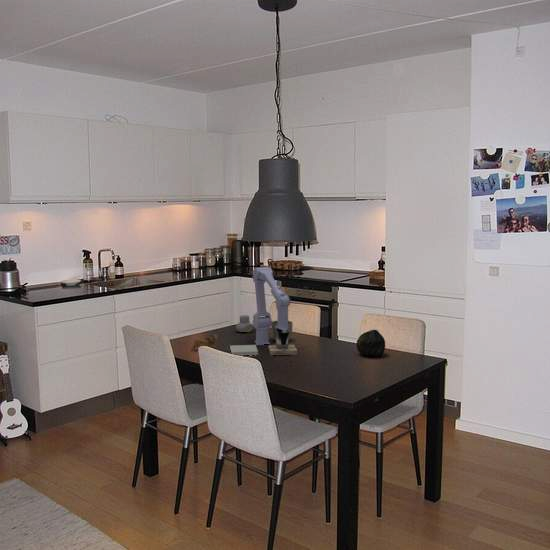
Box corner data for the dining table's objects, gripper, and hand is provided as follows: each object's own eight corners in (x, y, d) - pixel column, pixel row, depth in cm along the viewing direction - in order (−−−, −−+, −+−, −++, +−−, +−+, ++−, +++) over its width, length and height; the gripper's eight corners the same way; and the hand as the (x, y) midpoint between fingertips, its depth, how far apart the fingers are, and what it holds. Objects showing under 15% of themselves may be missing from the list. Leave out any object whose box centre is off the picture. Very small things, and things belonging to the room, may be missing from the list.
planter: (266, 340, 354) (266, 322, 353) (282, 337, 362) (282, 319, 361) (281, 344, 345) (281, 325, 343) (296, 340, 353) (296, 322, 352)
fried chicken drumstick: (217, 349, 335) (217, 333, 333) (218, 351, 329) (217, 335, 328) (190, 350, 332) (190, 334, 331) (190, 352, 327) (190, 336, 326)
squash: (353, 340, 331) (358, 324, 320) (380, 341, 332) (386, 325, 321) (356, 362, 322) (361, 347, 310) (384, 363, 323) (390, 347, 311)
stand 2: (268, 349, 334) (268, 344, 333) (293, 348, 335) (293, 344, 335) (271, 356, 320) (271, 351, 320) (297, 355, 322) (297, 350, 321)
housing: (276, 346, 329) (276, 337, 328) (286, 346, 330) (287, 337, 329) (277, 349, 325) (277, 339, 324) (288, 348, 325) (288, 339, 325)
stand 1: (230, 350, 332) (230, 345, 332) (255, 349, 334) (255, 344, 334) (231, 356, 318) (231, 352, 318) (257, 356, 320) (257, 351, 320)
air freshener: (241, 334, 369) (241, 318, 368) (233, 332, 375) (233, 316, 374) (255, 331, 376) (255, 316, 375) (247, 329, 382) (247, 313, 381)
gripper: (273, 315, 332) (273, 339, 334) (277, 321, 318) (277, 346, 319) (286, 315, 333) (286, 339, 334) (290, 320, 318) (290, 346, 320)
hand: (282, 342), depth 327 cm, fingers open, 7 cm apart
